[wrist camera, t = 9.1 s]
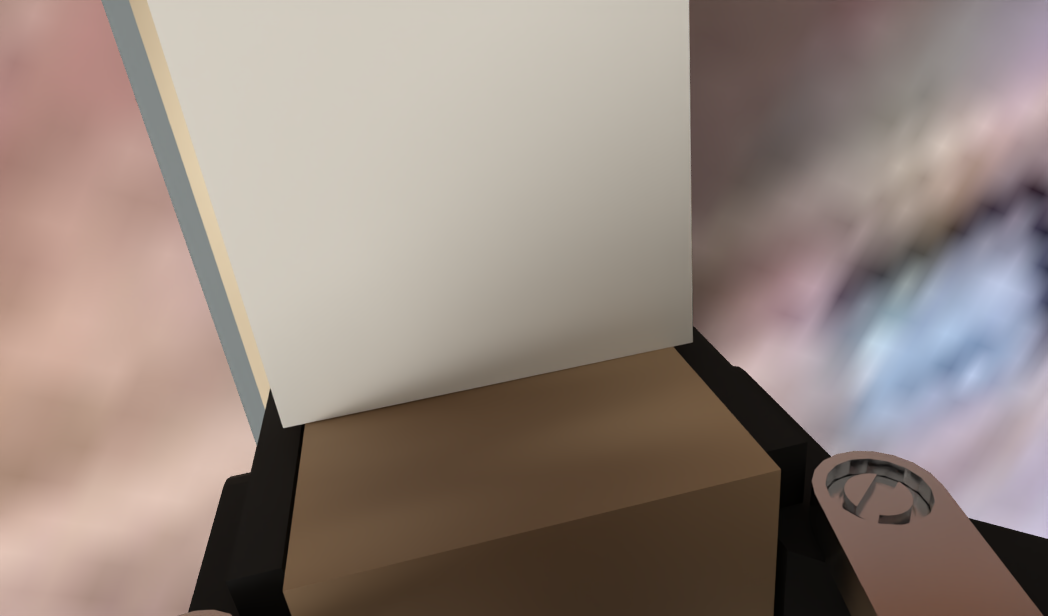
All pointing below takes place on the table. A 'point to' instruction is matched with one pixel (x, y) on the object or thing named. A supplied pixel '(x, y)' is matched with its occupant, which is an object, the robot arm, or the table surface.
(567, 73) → the crate
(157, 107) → the dock
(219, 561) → the robot arm
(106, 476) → the table surface
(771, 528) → the pallet
